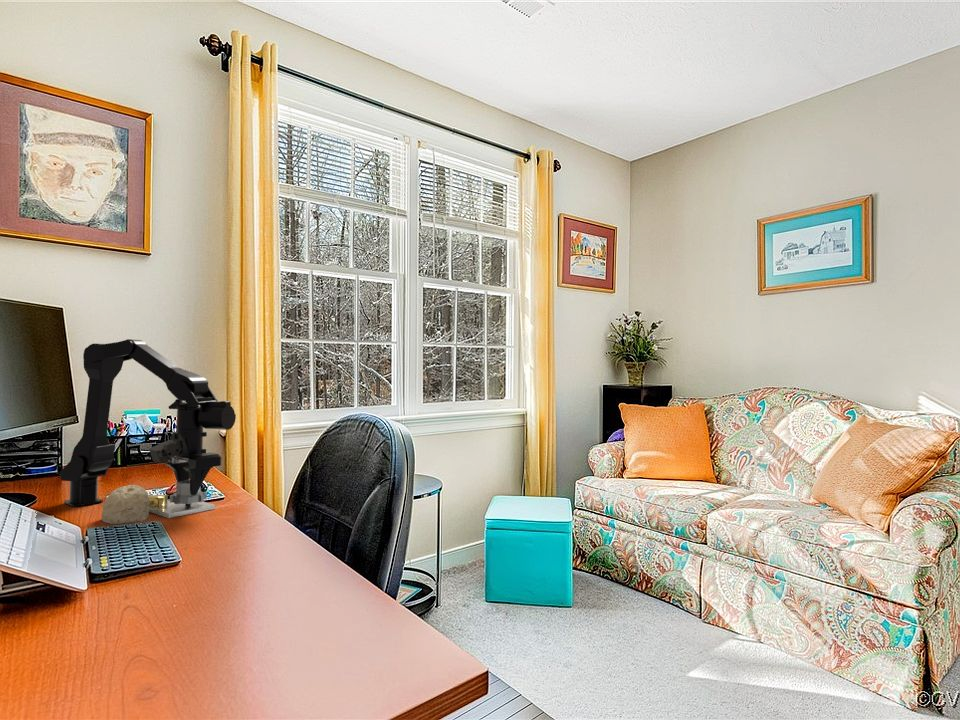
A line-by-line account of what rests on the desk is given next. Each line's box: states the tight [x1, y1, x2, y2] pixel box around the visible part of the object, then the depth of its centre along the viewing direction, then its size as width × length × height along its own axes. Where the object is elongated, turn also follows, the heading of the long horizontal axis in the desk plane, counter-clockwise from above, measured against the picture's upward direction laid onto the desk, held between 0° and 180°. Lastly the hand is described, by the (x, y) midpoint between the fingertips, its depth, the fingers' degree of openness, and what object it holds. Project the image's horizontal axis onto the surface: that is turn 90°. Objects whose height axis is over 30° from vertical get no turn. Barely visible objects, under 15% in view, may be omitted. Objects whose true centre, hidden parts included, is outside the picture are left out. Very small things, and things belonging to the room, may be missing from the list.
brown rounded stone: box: [101, 484, 150, 525], centre depth 129 cm, size 9×10×10 cm
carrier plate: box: [148, 494, 216, 519], centre depth 138 cm, size 13×12×4 cm
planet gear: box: [169, 480, 207, 504], centre depth 138 cm, size 8×8×4 cm
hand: (188, 493), depth 138 cm, fingers closed on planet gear, 5 cm apart
